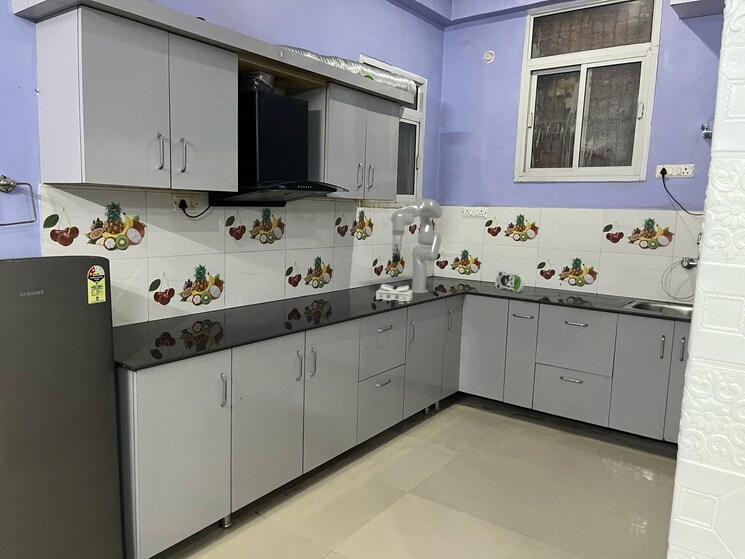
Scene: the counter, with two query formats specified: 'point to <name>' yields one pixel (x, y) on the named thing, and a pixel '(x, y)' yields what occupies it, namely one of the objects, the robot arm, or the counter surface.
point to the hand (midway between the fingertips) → (396, 261)
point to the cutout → (509, 281)
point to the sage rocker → (403, 288)
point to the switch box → (394, 295)
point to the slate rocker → (387, 287)
